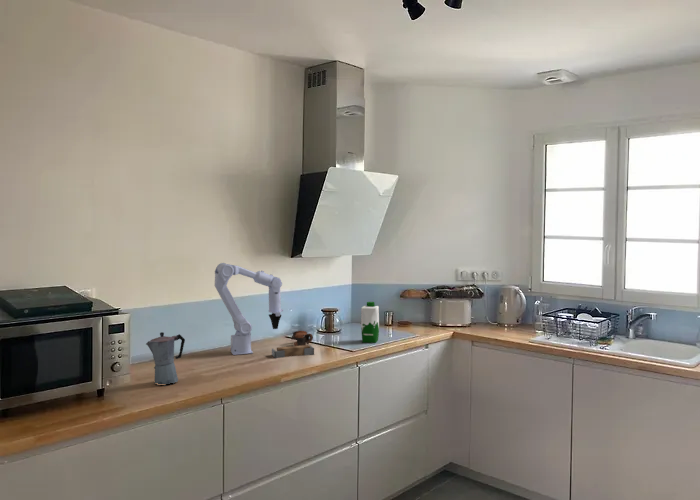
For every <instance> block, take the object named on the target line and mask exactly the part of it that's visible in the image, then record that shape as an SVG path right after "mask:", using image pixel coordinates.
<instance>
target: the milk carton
mask: <svg viewBox="0 0 700 500" xmlns="http://www.w3.org/2000/svg"><path fill="white" fill-rule="evenodd" d="M375 303H376V302H374V301H367V302H366V305H363V306H362V307H360V308H361V309H360V310H361V313H360V314H361V315H360V317H361V319H360V320H361V321H360V324H361V325H360V327H361V328H360V329H361V342H362V344H363V343H364V344H366V343H367V344H368V343H369V344H376V343H377V342H378V341H379V335H380V314H379V313H380V311H379V308H380V307H379V305H376V304H375Z"/></svg>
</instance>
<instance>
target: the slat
mask: <svg viewBox="0 0 700 500" xmlns="http://www.w3.org/2000/svg"><path fill="white" fill-rule="evenodd" d="M306 348H310V346H309V344H306V345H302V346H294V345H291V346H290V345H289V346H281V347H280V346H279V347H276V351H283V350H284V351H285V357H284V358H287V357H299V356H305V355H304V349H306Z"/></svg>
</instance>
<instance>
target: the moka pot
mask: <svg viewBox="0 0 700 500" xmlns="http://www.w3.org/2000/svg"><path fill="white" fill-rule="evenodd" d="M164 334H165V332H159V337H156V338H151V339H150V340H148V341H147V342H146V343H145V345H146V346H147V347H148V348H149V350H150V352H151V354H152V357H153V361H154V367H153V368H154V369H153V370H154V381H155V382H154V384H155V383H158V384H170V383H173V384H175V382H176V383H177V382H178V381H179V377H178V374H177V369H176V365H175V360H176V359H177V360H178V359H179V358H182V355H183V350H184V347H185V346H184V345H185V342H186V340H185V338H184V337H183V336H182V335H181V334H176V335H173V336H166V335H165V336H164ZM178 340H181V343H180V349H179V353H178V355H177V356H175V341H178ZM170 385H171V384H170Z"/></svg>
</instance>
